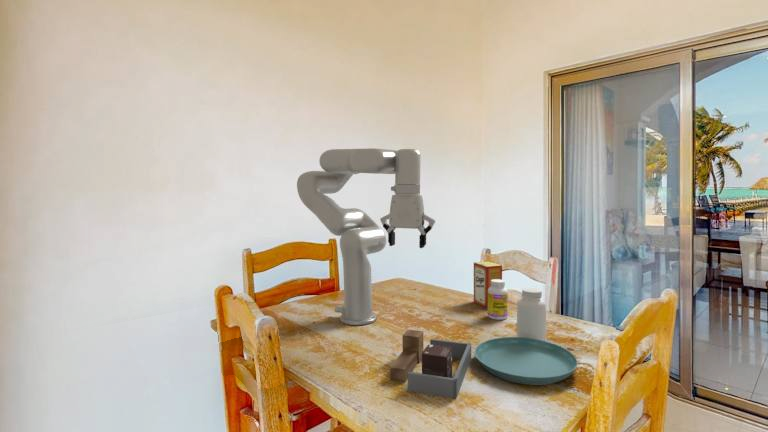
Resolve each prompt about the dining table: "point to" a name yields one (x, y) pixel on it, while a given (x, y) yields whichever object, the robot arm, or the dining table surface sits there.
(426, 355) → the box
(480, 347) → the teal plate
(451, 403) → the dining table surface
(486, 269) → the baking soda box
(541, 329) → the pill bottle
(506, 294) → the supplement bottle
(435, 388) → the open-sided frame
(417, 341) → the brown l-shaped block
